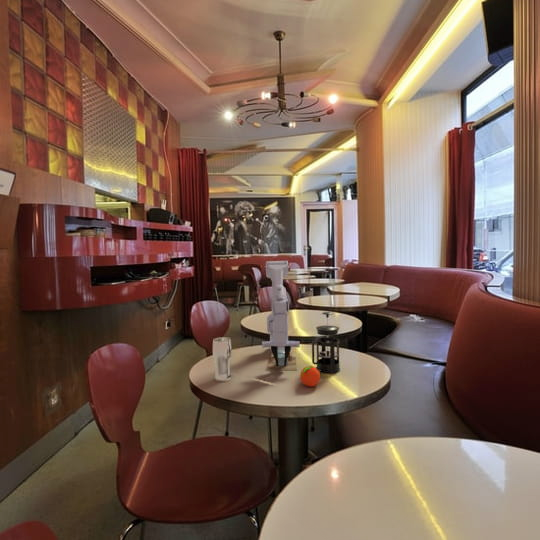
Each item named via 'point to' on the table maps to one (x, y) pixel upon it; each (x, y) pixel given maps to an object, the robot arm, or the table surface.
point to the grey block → (281, 358)
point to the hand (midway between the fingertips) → (281, 365)
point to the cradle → (273, 367)
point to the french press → (327, 356)
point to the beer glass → (222, 358)
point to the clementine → (310, 376)
